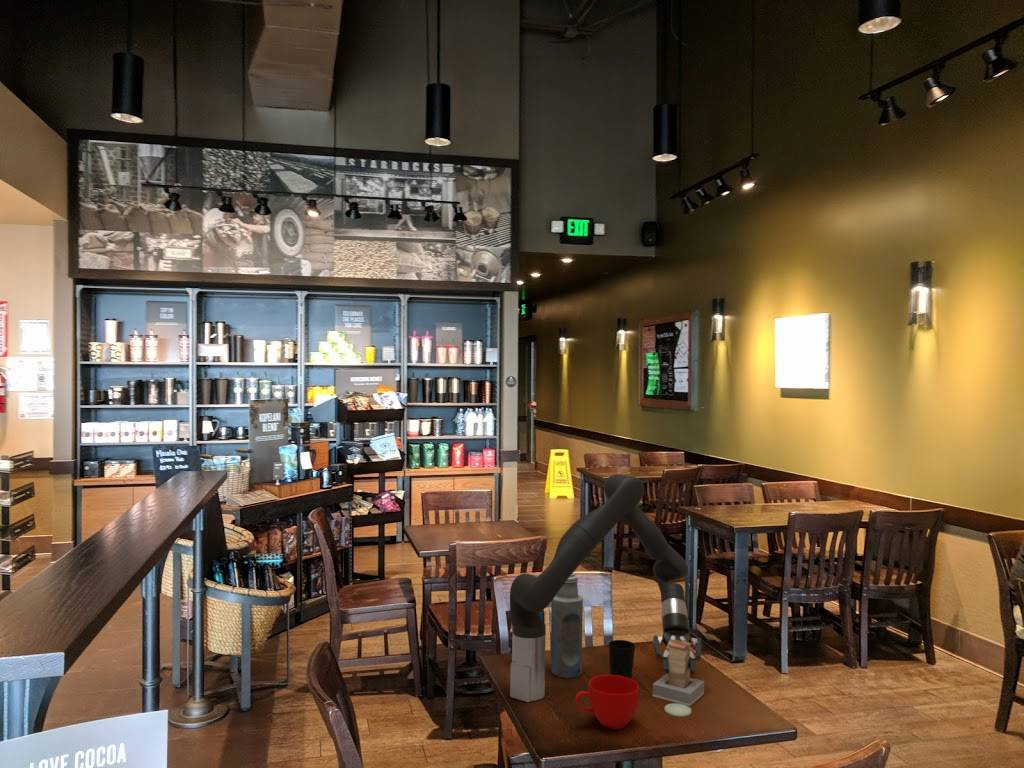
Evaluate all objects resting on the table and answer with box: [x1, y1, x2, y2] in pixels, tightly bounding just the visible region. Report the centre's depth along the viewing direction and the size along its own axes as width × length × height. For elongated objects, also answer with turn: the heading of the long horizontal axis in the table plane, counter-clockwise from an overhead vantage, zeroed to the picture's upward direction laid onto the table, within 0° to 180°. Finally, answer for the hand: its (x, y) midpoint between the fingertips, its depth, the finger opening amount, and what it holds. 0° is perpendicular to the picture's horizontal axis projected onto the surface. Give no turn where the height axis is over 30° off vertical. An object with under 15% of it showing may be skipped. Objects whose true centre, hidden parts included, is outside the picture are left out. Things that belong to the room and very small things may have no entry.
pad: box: [664, 702, 692, 718], centre depth 199 cm, size 7×7×1 cm
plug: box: [668, 640, 692, 689], centre depth 210 cm, size 5×5×14 cm
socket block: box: [652, 673, 705, 707], centre depth 210 cm, size 11×11×3 cm
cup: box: [608, 639, 636, 680], centre depth 216 cm, size 8×8×12 cm
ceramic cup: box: [575, 674, 640, 730], centre depth 191 cm, size 13×17×10 cm
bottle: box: [549, 572, 584, 679], centre depth 226 cm, size 10×10×30 cm
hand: (679, 672), depth 209 cm, fingers closed on plug, 6 cm apart
